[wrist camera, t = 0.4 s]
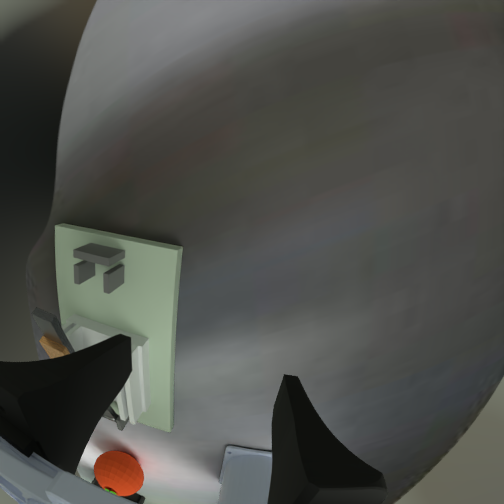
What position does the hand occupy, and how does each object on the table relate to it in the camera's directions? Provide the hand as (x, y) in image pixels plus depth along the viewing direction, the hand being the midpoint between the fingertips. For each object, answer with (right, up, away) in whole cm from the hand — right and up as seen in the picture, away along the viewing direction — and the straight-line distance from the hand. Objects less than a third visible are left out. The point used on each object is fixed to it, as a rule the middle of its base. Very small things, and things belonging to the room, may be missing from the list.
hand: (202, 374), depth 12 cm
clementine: (-15, -23, +18) cm, 33 cm away
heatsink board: (-10, -3, +12) cm, 16 cm away
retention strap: (-11, -5, +7) cm, 14 cm away
